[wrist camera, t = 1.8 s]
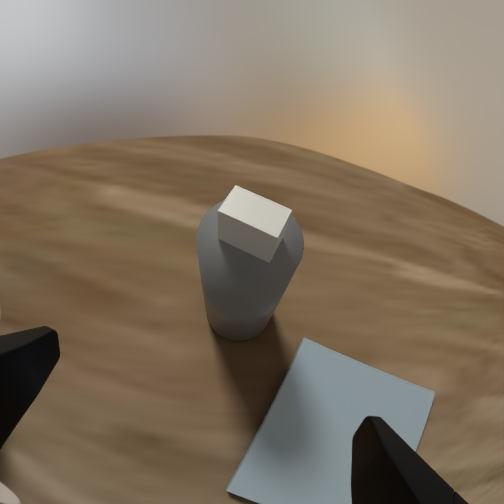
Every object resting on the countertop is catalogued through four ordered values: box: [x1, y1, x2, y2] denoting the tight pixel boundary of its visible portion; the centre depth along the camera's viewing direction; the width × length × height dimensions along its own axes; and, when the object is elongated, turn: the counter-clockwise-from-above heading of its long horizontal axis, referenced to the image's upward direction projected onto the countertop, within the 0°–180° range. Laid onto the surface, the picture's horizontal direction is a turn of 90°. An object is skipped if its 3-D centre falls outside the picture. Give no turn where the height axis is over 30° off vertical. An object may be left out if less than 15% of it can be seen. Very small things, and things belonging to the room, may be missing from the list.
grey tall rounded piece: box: [196, 185, 304, 341], centre depth 17 cm, size 5×5×12 cm
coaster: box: [226, 338, 435, 504], centre depth 17 cm, size 12×12×1 cm
